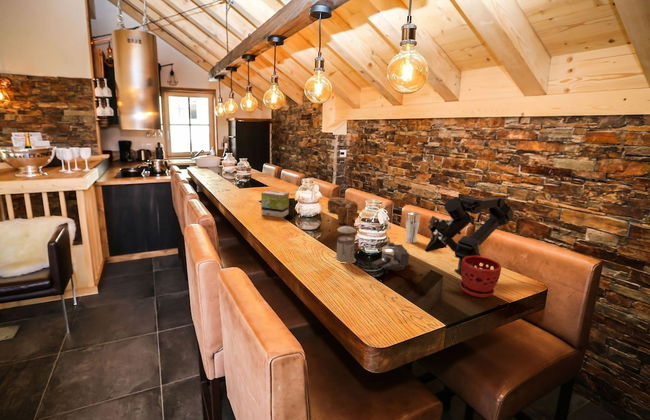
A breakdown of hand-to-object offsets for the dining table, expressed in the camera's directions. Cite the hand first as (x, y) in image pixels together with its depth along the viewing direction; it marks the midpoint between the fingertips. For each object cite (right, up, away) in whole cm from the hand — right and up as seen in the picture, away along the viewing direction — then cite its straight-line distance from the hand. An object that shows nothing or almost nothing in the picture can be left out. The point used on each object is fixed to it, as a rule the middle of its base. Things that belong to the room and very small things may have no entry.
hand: (425, 251), depth 140 cm
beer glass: (+5, 0, +47) cm, 47 cm away
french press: (-31, -6, +17) cm, 36 cm away
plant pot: (+16, -14, -9) cm, 23 cm away
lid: (-10, -3, +8) cm, 13 cm away
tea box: (-72, +13, +90) cm, 115 cm away
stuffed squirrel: (-26, +8, +76) cm, 80 cm away
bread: (-28, +14, +102) cm, 106 cm away
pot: (-13, -8, +10) cm, 18 cm away
